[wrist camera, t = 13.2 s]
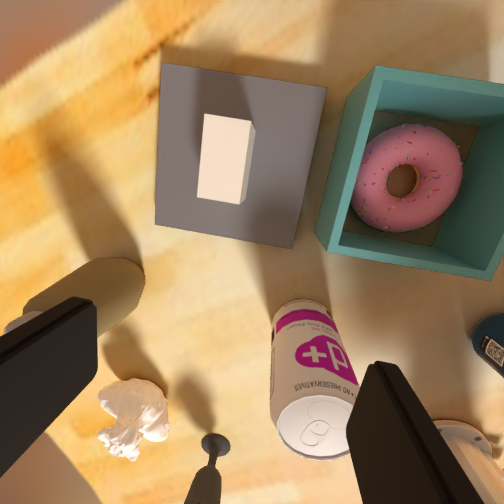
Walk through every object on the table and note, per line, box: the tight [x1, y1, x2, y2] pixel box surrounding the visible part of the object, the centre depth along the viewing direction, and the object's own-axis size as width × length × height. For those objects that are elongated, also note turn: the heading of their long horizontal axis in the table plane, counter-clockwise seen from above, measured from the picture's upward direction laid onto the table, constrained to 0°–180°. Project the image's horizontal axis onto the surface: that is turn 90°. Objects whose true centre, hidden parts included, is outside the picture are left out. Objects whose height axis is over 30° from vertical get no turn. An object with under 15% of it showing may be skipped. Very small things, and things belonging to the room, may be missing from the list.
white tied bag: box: [97, 378, 169, 461], centre depth 36 cm, size 12×8×11 cm
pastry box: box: [314, 65, 504, 281], centre depth 24 cm, size 15×15×8 cm
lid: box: [155, 62, 327, 249], centre depth 26 cm, size 16×16×7 cm
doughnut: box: [350, 123, 464, 233], centre depth 26 cm, size 11×11×4 cm
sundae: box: [184, 434, 230, 504], centre depth 36 cm, size 7×7×15 cm
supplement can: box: [270, 299, 360, 461], centre depth 27 cm, size 8×8×15 cm
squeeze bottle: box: [4, 258, 145, 338], centre depth 26 cm, size 8×8×18 cm
